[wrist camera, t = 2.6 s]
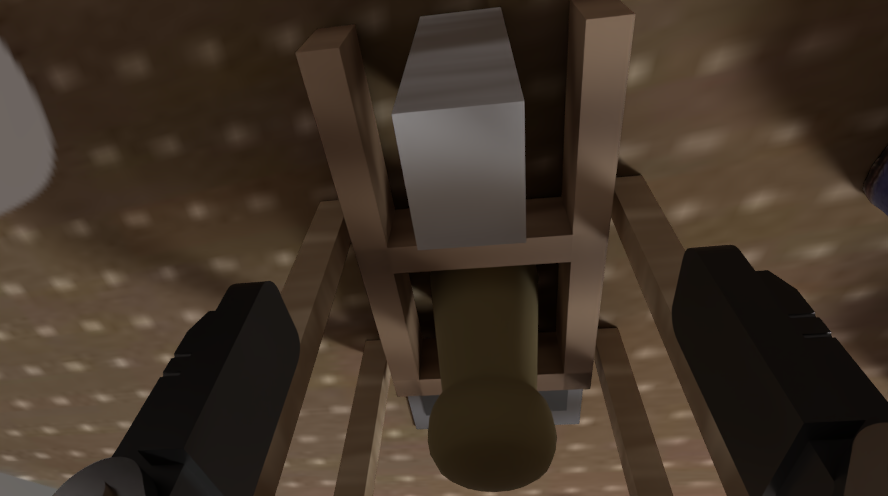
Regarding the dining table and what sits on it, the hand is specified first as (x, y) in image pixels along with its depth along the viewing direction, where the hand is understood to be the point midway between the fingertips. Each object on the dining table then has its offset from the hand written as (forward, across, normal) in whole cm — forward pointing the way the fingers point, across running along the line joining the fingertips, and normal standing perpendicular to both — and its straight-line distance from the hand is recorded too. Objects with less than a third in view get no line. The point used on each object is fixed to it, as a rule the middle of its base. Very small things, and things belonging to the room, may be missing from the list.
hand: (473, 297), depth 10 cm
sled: (+13, 0, +7) cm, 14 cm away
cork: (+13, 0, +11) cm, 17 cm away
